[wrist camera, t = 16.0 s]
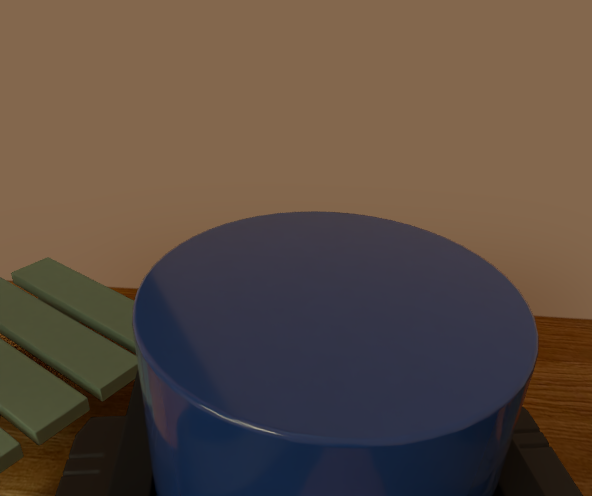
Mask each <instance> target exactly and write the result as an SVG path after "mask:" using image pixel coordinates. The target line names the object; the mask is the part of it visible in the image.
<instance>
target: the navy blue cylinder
mask: <svg viewBox="0 0 592 496" xmlns="http://www.w3.org/2000/svg"><path fill="white" fill-rule="evenodd" d="M132 328H133V336H134V343H135V350H136V357H137V364H138V372H139V379H140V386H141V393H142V400H143V407H144V415H145V422H146V429H147V436H148V443H149V450H150V458H151V465H152V472H153V479H154V486H155V493H156V496H494V494H495V491H496V488H497V484H498V481H499V478H500V475H501V472H502V469H503V465H504V462H505V459H506V456H507V453H508V450H509V447H510V443H511V440H512V437H513V434H514V431H515V428H516V424H517V421H518V418H519V415H520V412H521V409H522V405H523V402H524V399H525V396H526V393H527V390H528V387H529V383H530V380H531V377H532V374H533V371H534V367H535V364H536V360H537V357H538V345H539V337H538V332H537V327H536V323H535V318H534V316H533V314H532V312H531V309H530V307H529V305H528V303H527V301H526V300H525V299H524V297H523V295H522V294H521V292H520V291H519V290H518V289H517V288H516V286H515V285H514V284H513V283H512V282H511V281H510V280H509V279H508V277H506V276H505V275H504V274H503V273H502V272H501V271H500V270H498V269H497V268H496V267H495V266H494V265H492V264H491V263H489V262H488V261H487V260H485V259H484V258H482V257H481V256H479V255H478V254H476V253H474V252H472V251H471V250H469V249H467V248H466V247H464V246H462V245H460V244H458V243H456V242H453V241H451V240H449V239H447V238H445V237H442V236H440V235H437V234H435V233H432V232H430V231H427V230H424V229H420V228H418V227H415V226H411V225H408V224H404V223H400V222H396V221H392V220H387V219H382V218H377V217H372V216H365V215H358V214H349V213H338V212H290V213H277V214H270V215H263V216H256V217H252V218H246V219H242V220H238V221H234V222H230V223H226V224H223V225H220V226H217V227H215V228H212V229H209V230H207V231H204V232H202V233H200V234H198V235H195V236H193V237H191V238H190V239H188V240H186V241H184V242H183V243H181V244H179V245H177V246H176V247H175V248H173V249H172V250H170V251H169V252H168V253H166V254H165V255H164V256H163V257H162V258H161V259H160V260H159V261H158V262H156V263H155V265H154V266H153V267H152V268H151V269H150V271H149V272H148V273H147V274H146V276H145V277H144V279H143V281H142V283H141V285H140V287H139V289H138V291H137V293H136V297H135V301H134V304H133V308H132Z"/></svg>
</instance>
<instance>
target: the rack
mask: <svg viewBox="0 0 592 496" xmlns="http://www.w3.org/2000/svg"><path fill="white" fill-rule="evenodd" d="M11 274H12V279H13V283H14V284H16V285H17V286H19V287H21V288H23V289H24V290H26V291H28V292H30V293H31V294H33V295H35V296H37V297H38V299H37V298H35V297H34V296H32V295H30V294H29V293H27V292H25V291H23V290H22V289H20V288H18V287H16V286H15V285H13V284H11V283H10V282H8V281H6V280H4V279H2V278H0V333H1V334H3V335H4V336H6V337H7V338H9V339H10V340H12V341H13V342H15V343H16V344H17V345H19V346H20V347H22V348H23V349H25V350H26V351H28V352H29V353H31V354H32V355H34V356H35V357H37V358H38V359H40V360H41V361H43V362H44V363H46V364H47V365H49V366H50V367H52V368H53V369H55V370H56V371H58V372H59V373H61V374H62V375H64V376H65V377H67V378H68V379H70V380H71V381H73V382H74V383H75V384H77V385H78V386H80V387H81V388H83V389H84V390H86V391H87V392H89V393H90V394H92V395H93V396H95V397H96V398H98V399H99V400H101V401H104V400H106V399H107V398H108V397H110V396H111V395H113V394H114V393H116V392H117V391H118V390H120V389H121V388H123V387H124V386H125V385H127V384H128V383H130V382H131V381H133V380H134V379H135V378H136V374H137V370H138V364H137V357H136V356H135V355H134V354H132V353H130V352H129V351H127V350H125V349H123V348H122V347H120V346H118V345H117V344H115V343H113V342H111V341H110V340H108V339H106V338H104V337H103V336H101V335H99V334H98V333H96V332H94V331H92V330H91V329H89V328H87V327H85V326H84V325H82V324H80V323H79V322H78V321H80V322H82V323H83V324H85V325H87V326H89V327H90V328H92V329H94V330H95V331H97V332H99V333H101V334H102V335H104V336H106V337H108V338H109V339H111V340H113V341H114V342H116V343H118V344H120V345H121V346H123V347H125V348H127V349H128V350H130V351H132V352H134V353H135V354H136V350H135V343H134V336H133V328H132V308H133V304H134V300H132V299H130V298H128V297H126V296H124V295H122V294H120V293H118V292H116V291H114V290H112V289H110V288H108V287H106V286H104V285H102V284H100V283H98V282H96V281H94V280H91V279H90V278H88V277H86V276H84V275H82V274H80V273H78V272H76V271H74V270H72V269H70V268H68V267H66V266H64V265H63V264H60V263H58V262H57V261H55V260H52V259H51V258H45V259H43V260H40V261H38V262H36V263H33V264H31V265H29V266H26V267H24V268H21V269H19V270H17V271H14V272H12V273H11ZM89 410H90V408H89V403H88V398H87V397H86V396H84V395H83V394H81V393H80V392H78V391H77V390H75V389H74V388H72V387H71V386H70V385H68V384H67V383H65V382H64V381H62V380H61V379H59V378H58V377H56V376H55V375H53V374H52V373H50V372H49V371H48V370H46V369H45V368H43V367H42V366H40V365H39V364H37V363H36V362H34V361H33V360H31V359H30V358H28V357H27V356H26V355H24V354H23V353H21V352H20V351H18V350H17V349H15V348H14V347H12V346H11V345H9V344H8V343H6V342H5V341H4V340H2V339H1V338H0V415H2V416H3V417H4V418H5V419H6V420H8V421H9V422H10V423H11V424H13V425H14V426H15V427H16V428H18V429H19V430H20V431H21V432H23V433H24V434H25V435H26V436H28V437H29V438H30V439H31V440H32V441H34V442H35V443H36V444H37V445H41V444H42V443H44V442H45V441H47V440H48V439H49V438H51V437H52V436H54V435H55V434H57V433H58V432H59V431H61V430H62V429H64V428H65V427H67V426H68V425H69V424H71V423H72V422H74V421H75V420H76V419H78V418H79V417H81V416H82V415H84V414H85V413H86V412H88V411H89ZM23 456H24V455H23V452H22V449H21V445H20V443H19V442H18V441H16V440H15V439H14V438H13V437H12V436H10V435H9V434H8V433H7V432H6V431H4V430H3V429H2V428H1V427H0V473H1V472H3V471H4V470H5V469H7V468H8V467H10V466H11V465H12V464H14V463H15V462H17V461H18V460H20V459H21V458H22V457H23Z"/></svg>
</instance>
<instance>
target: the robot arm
mask: <svg viewBox="0 0 592 496" xmlns="http://www.w3.org/2000/svg"><path fill="white" fill-rule="evenodd" d="M55 496H156V493H155V486H154V479H153V472H152V465H151V458H150V450H149V443H148V436H147V429H146V422H145V415H144V407H143V400H142V393H141V386H140V379H139V372H138V370H137V374H136V378H135V382H134V386H133V390H132V394H131V398H130V402H129V406H128V410H127V414H126V416H109V417H91V418H90V419H89V420H88V422H87V423H86V424H85V425H84V426H83V428H82V429H81V430H80V431H79V432H78V433H77V435H76V436H75V439H74V442H73V445H72V448H71V451H70V454H69V459H68V460H67V462H66V465H65V468H64V471H63V477H61V480H60V483H59V486H58V489H57V492H56V494H55ZM494 496H583V495H582V493H581V492H580V490H579V489H578V487H577V486H576V484H575V483H574V481H573V480H572V478H571V477H570V475H569V473H568V472H567V470H566V469H565V467H564V466H563V464H562V463H561V461H560V460H559V458H558V457H557V455H556V453H555V452H554V450H553V449H552V447H549V443H548V441H547V440H546V438H545V437H544V435H543V433H542V432H540V431H539V427H538V426H537V424H536V423H535V421H534V420H533V418H532V416H531V415H530V413H529V412H528V411H527V410H526V409H525V408H524V407H522V409H521V412H520V415H519V418H518V421H517V424H516V428H515V431H514V434H513V437H512V440H511V443H510V447H509V450H508V453H507V456H506V459H505V462H504V465H503V469H502V472H501V475H500V478H499V481H498V484H497V488H496V491H495V494H494Z"/></svg>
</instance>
